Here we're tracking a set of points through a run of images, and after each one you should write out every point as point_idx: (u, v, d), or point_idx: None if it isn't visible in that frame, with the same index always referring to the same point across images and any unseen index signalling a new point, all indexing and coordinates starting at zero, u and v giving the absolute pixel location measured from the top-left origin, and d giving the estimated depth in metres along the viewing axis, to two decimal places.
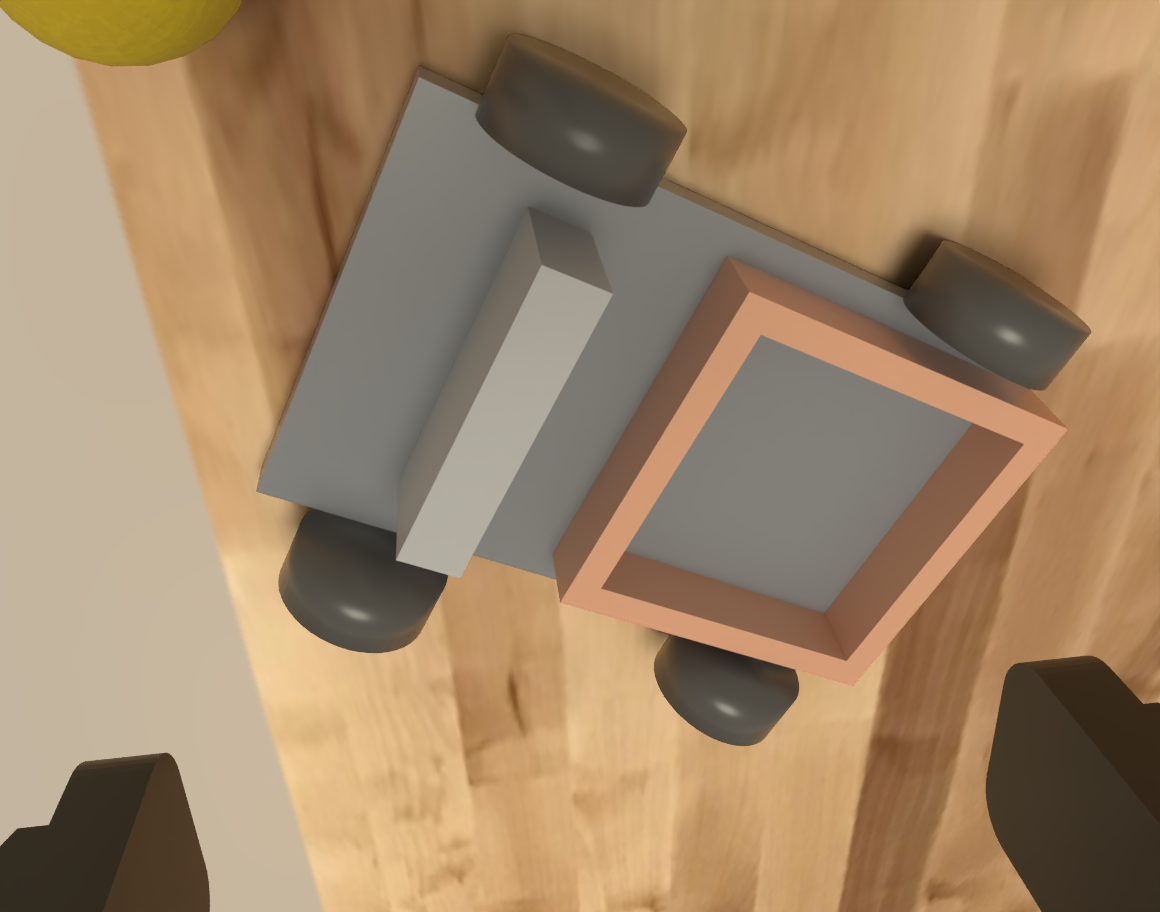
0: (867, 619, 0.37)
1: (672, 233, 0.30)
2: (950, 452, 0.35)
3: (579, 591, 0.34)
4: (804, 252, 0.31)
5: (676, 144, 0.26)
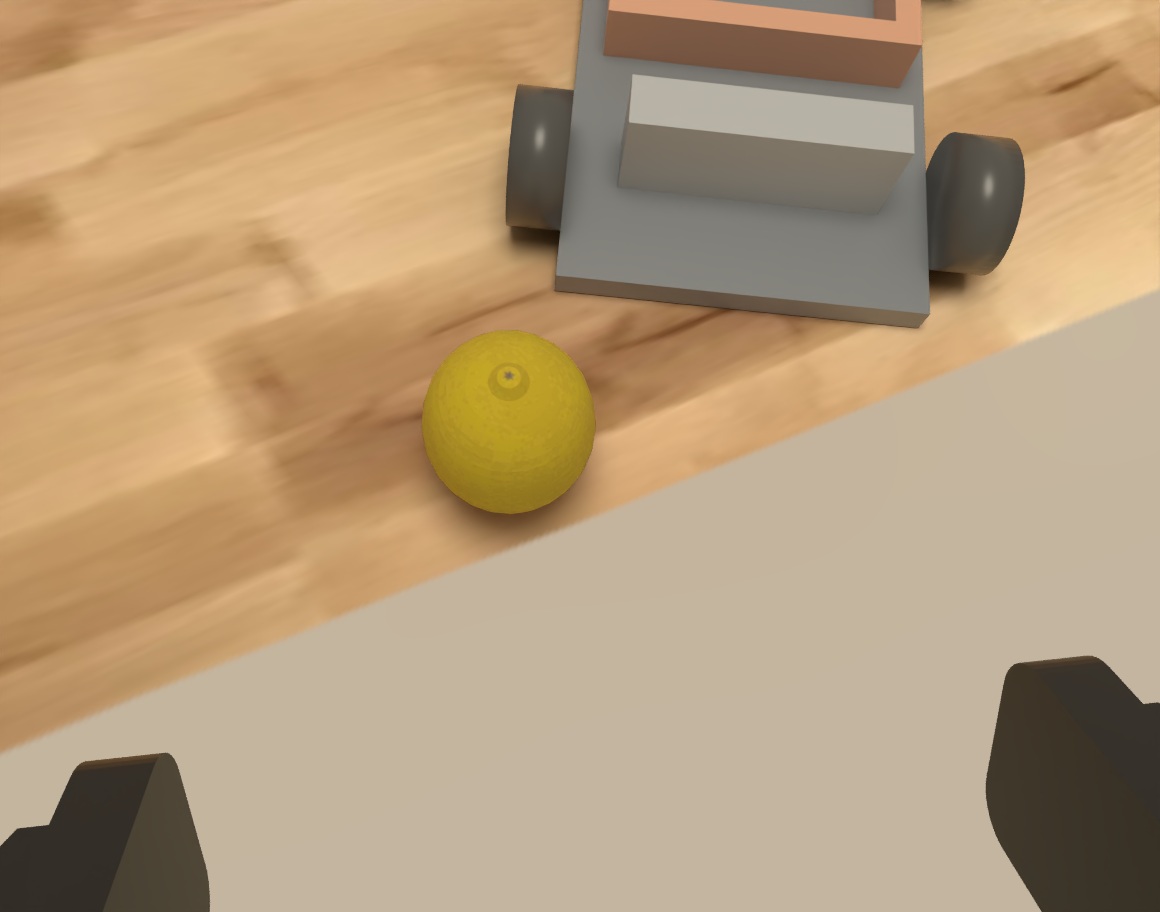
0: None
1: (601, 94, 0.41)
2: None
3: (905, 34, 0.39)
4: (582, 10, 0.42)
5: None
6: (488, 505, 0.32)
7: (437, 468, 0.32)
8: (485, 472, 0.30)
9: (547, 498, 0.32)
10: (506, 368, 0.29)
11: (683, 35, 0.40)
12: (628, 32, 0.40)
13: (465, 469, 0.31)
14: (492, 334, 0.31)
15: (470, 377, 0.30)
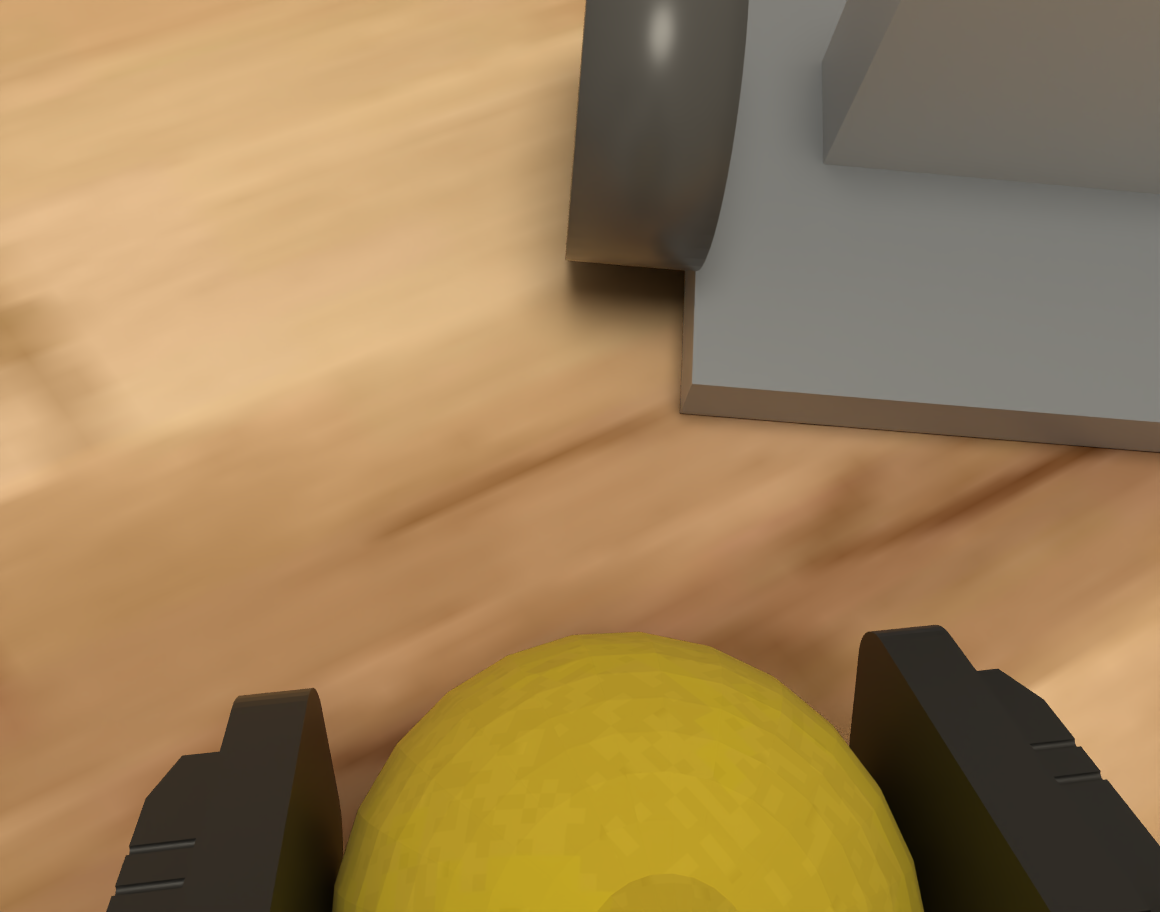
0: None
1: None
2: None
3: None
4: None
5: None
6: None
7: None
8: None
9: None
10: None
11: None
12: None
13: None
14: (575, 689, 0.08)
15: None
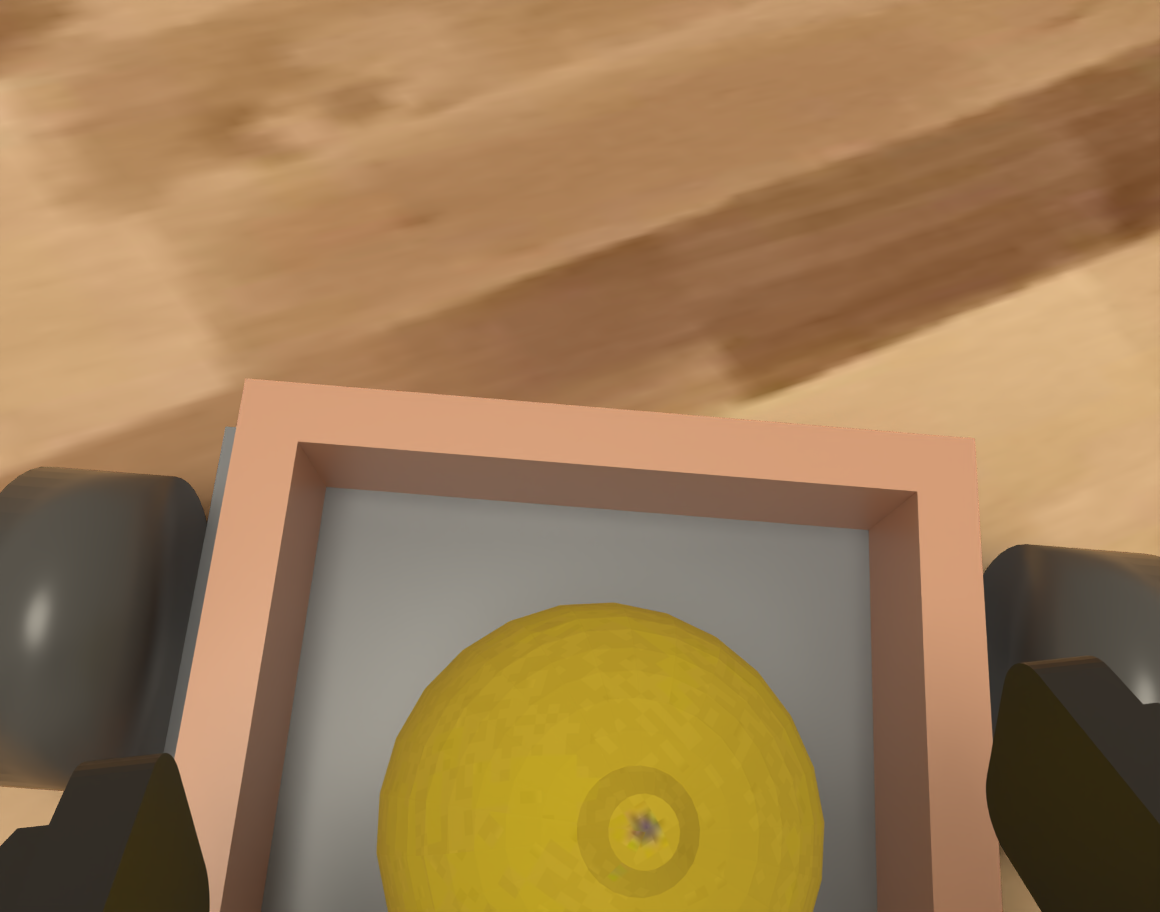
0: (809, 492, 0.17)
1: None
2: (441, 495, 0.19)
3: None
4: None
5: None
6: None
7: None
8: None
9: None
10: (634, 802, 0.10)
11: None
12: None
13: None
14: (568, 642, 0.11)
15: (522, 811, 0.10)
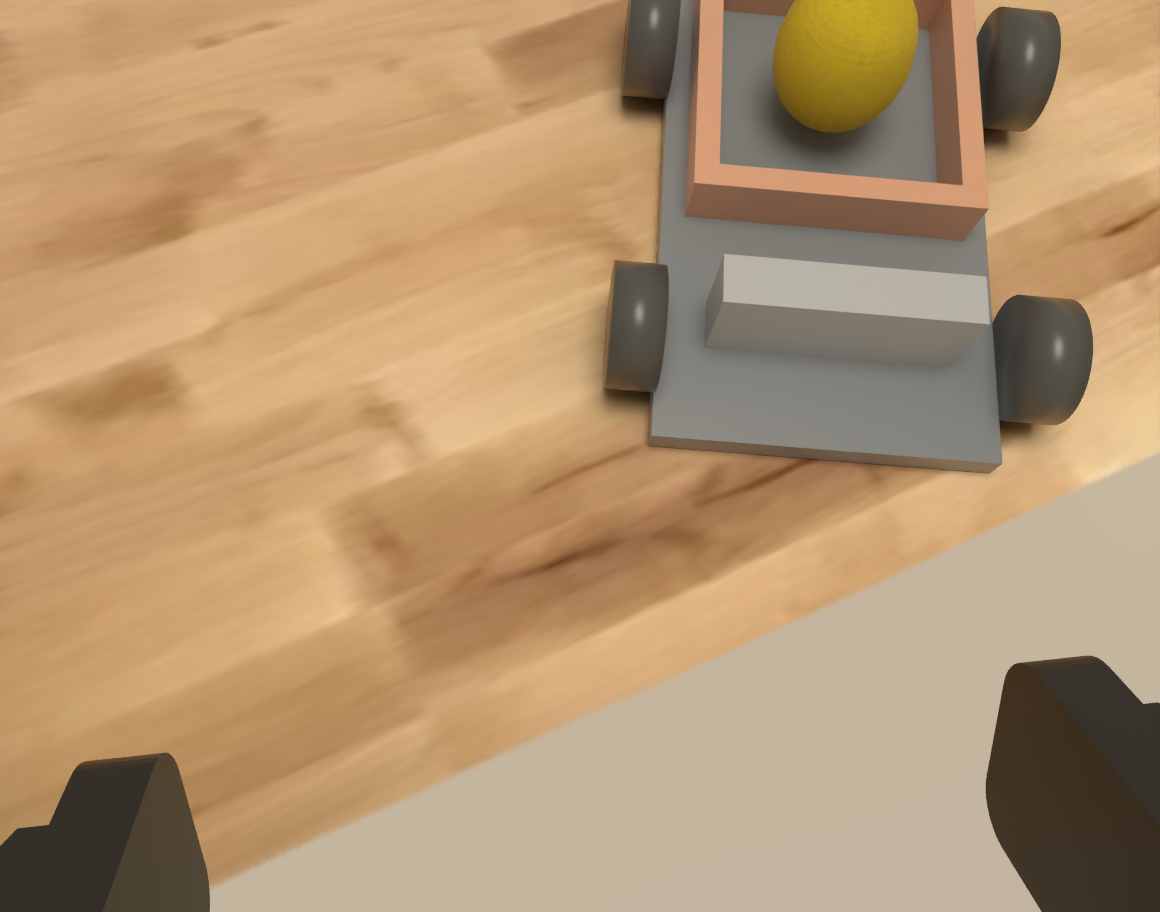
0: None
1: (684, 255, 0.43)
2: (759, 13, 0.47)
3: (972, 199, 0.42)
4: (663, 172, 0.45)
5: (621, 261, 0.40)
6: (840, 108, 0.41)
7: (799, 81, 0.41)
8: (851, 65, 0.39)
9: (884, 101, 0.41)
10: None
11: (763, 201, 0.42)
12: (711, 199, 0.42)
13: (833, 66, 0.40)
14: None
15: None
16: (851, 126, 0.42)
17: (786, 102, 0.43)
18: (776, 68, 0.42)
